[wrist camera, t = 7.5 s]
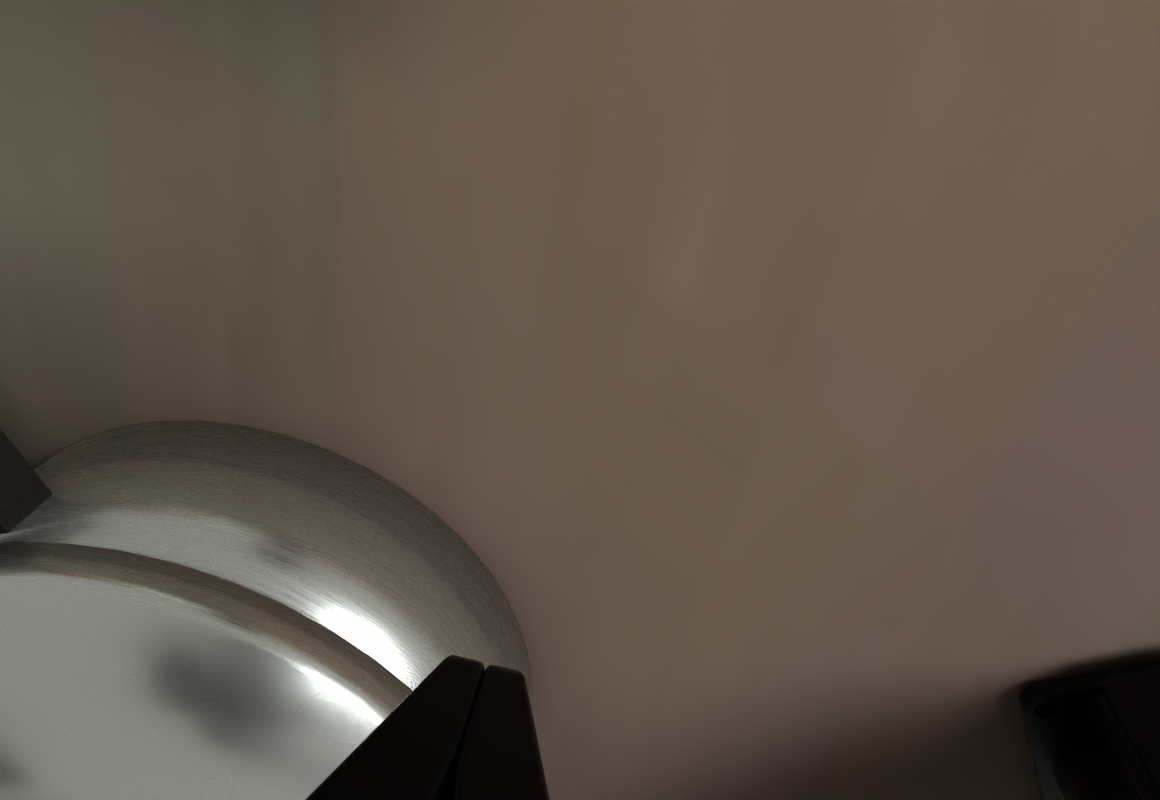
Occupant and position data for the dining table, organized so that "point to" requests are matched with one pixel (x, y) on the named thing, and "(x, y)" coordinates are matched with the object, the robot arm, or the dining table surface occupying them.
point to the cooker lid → (169, 683)
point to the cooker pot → (274, 534)
